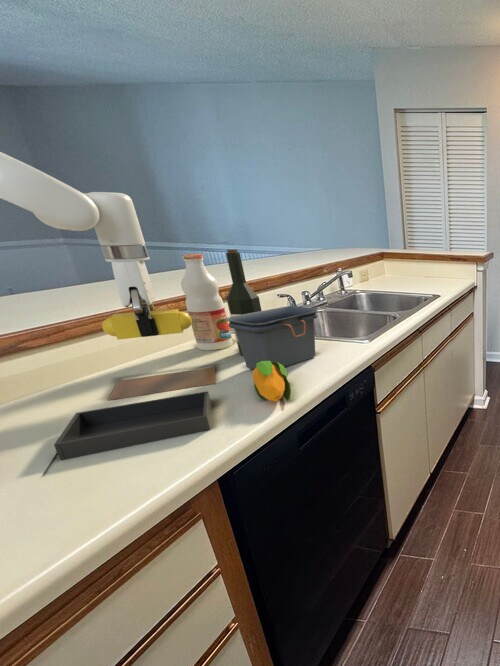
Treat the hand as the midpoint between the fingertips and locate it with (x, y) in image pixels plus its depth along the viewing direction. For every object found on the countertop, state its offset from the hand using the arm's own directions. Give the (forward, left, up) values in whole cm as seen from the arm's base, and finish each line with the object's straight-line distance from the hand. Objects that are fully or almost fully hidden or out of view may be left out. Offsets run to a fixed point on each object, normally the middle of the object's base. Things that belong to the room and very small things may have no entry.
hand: (151, 332), depth 100 cm
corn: (+22, -22, -13) cm, 34 cm away
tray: (-1, -28, -13) cm, 31 cm away
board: (0, 0, -13) cm, 13 cm away
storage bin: (+27, +2, -13) cm, 30 cm away
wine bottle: (+20, +18, -13) cm, 30 cm away
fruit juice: (+10, +30, -13) cm, 34 cm away
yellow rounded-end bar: (0, 0, 0) cm, 0 cm away
